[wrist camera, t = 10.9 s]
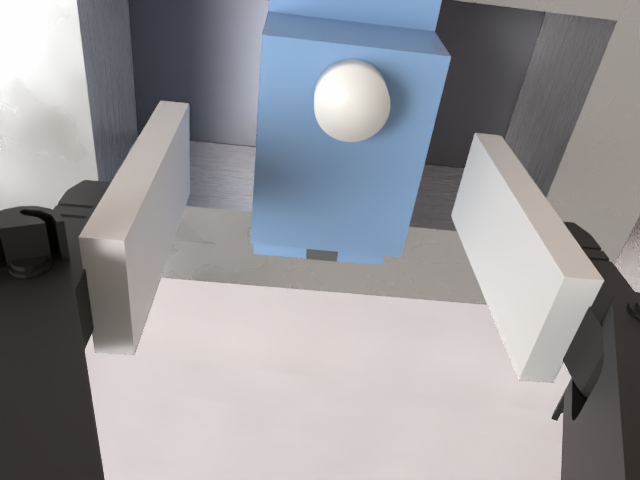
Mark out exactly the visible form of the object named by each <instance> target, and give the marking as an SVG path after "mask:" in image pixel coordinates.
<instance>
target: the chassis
mask: <svg viewBox="0 0 640 480" xmlns="http://www.w3.org/2000/svg"><path fill="white" fill-rule="evenodd" d="M455 1H463V2H471V3H479V4H487V5H496V6H504V7H512V8H520V9H528V10H536V11H544V12H546V14H545V17H544V20H543V23H542V26H541V29H540V32H539V35H538V38H537V41H536V45H535V48H534V51H533V54H532V57H531V60H530V63H529V66H528V69H527V72H526V75H525V78H524V81H523V84H522V87H521V90H520V93H519V96H518V99H517V102H516V105H515V108H514V111H513V114H512V117H511V120H510V123H509V126H508V130H507V133H506V136H505V139H504V140H505V141H506V143H507V144H508V146H509V147H510V149H511V150H512V151H513V153H514V154H515V156H516V157H517V158H518V160H519V161H520V163H521V164H522V165H523V167H524V168H525V170H526V171H527V172H528V174H529V175H530V177H531V178H532V179H533V181H534V182H535V184H536V185H537V186H538V188H539V189H540V191H541V192H542V193H543V195H544V196H545V198H546V199H547V200H548V202H549V203H550V205H551V206H552V207H553V209H554V210H555V212H556V213H557V214H558V216H559V217H560V219H561V220H562V221H563V222H574V223H576V224H577V225H578V226H580V227H581V228H582V229H584V230H585V231H587V232H588V233H589V234H591V235H592V237H593V238H594V239H595V241H596V242H597V243H598V244H599V246H600V247H601V251H604V252H605V254H606V255H607V256H608V258H609V259H610V260H609V262H612V263H613V264H615V262H616V261H617V259H618V257H619V255H620V253H621V251H622V249H623V247H624V245H625V243H626V241H627V239H628V238H629V236H630V234H631V232H632V230H633V228H634V226H635V224H636V222H637V220H638V218H639V216H640V0H455ZM138 137H139V135H138V128H137V115H136V101H135V87H134V73H133V59H132V45H131V31H130V18H129V4H128V0H0V211H1V210H3V209H8V208H13V207H18V206H40V207H45V208H50V209H52V210H53V209H54V207H55V206H56V205H58V202H59V200H60V199H61V198H62V196H63V195H64V194H65V192H66V191H67V190H68V189H70V188H71V187H73V186H75V185H76V184H78V183H80V182H82V181H83V180H92V181H103V182H112V180H113V179H114V177H115V175H116V174H117V172H118V170H119V169H120V167H121V165H122V164H123V162H124V160H125V159H126V157H127V155H128V154H129V152H130V150H131V149H132V147H133V145H134V144H135V142H136V140H137V139H138ZM255 152H256V147H249V146H239V145H229V144H219V143H209V142H200V141H190V195H189V198H188V201H187V204H186V207H185V209H184V212H183V215H182V218H181V221H180V224H179V227H178V230H177V233H176V236H175V239H174V241H173V244H172V247H171V250H170V253H169V256H168V259H167V262H166V265H165V268H164V271H163V274H162V276H161V278H172V279H184V280H196V281H208V282H220V283H232V284H244V285H256V286H268V287H280V288H292V289H304V290H316V291H328V292H340V293H352V294H364V295H376V296H389V297H401V298H413V299H425V300H437V301H449V302H461V303H473V304H485V305H487V303H486V300H485V298H484V295H483V293H482V290H481V288H480V286H479V283H478V281H477V278H476V276H475V273H474V271H473V269H472V266H471V264H470V261H469V259H468V256H467V254H466V251H465V249H464V247H463V244H462V242H461V239H460V237H459V234H458V232H457V230H456V227H455V225H454V222H453V220H452V217H451V214H452V211H453V207H454V204H455V200H456V197H457V193H458V190H459V186H460V183H461V179H462V176H463V172H464V169H465V168H456V167H446V166H436V165H426V164H424V168H423V172H422V176H421V181H420V185H419V189H418V193H417V197H416V201H415V205H414V209H413V213H412V217H411V221H410V225H409V229H408V233H407V237H406V241H405V245H404V249H403V253H402V257H393V256H384V259H383V263H382V265H375V264H364V263H352V262H341V261H337V262H334V261H322V260H311V259H306V258H295V257H283V256H272V255H260V254H253V251H254V244H250V240H251V222H252V204H253V187H254V169H255Z"/></svg>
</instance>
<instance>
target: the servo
mask: <svg viewBox="0 0 640 480" xmlns="http://www.w3.org/2000/svg"><path fill="white" fill-rule="evenodd" d="M441 3H442V0H269V8H268V14H267V18H266V22H265V26H264V30H263V33H262V47H261V64H260V82H259V99H258V117H257V134H256V152H255V169H254V187H253V204H252V222H251V240H250V244H254V251H253V254H260V255H272V256H283V257H295V258H306V259H311V260H322V261H334V262H337V261H341V262H352V263H364V264H375V265H382V263H383V259H384V256H393V257H402V253H403V249H404V245H405V241H406V237H407V233H408V229H409V225H410V221H411V217H412V213H413V209H414V205H415V201H416V197H417V193H418V189H419V185H420V181H421V176H422V172H423V168H424V164H425V160H426V156H427V152H428V148H429V144H430V140H431V136H432V132H433V128H434V124H435V120H436V116H437V112H438V108H439V104H440V100H441V96H442V92H443V88H444V84H445V80H446V76H447V72H448V68H449V64H450V60H451V55H450V54H449V52H448V51H447V49H446V48H445V46H444V45H443V43H442V42H441V40H440V38H439V37H438V35H437V34H436V32H435V29H436V25H437V20H438V16H439V12H440V7H441Z"/></svg>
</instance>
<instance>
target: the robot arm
mask: <svg viewBox="0 0 640 480" xmlns="http://www.w3.org/2000/svg"><path fill="white" fill-rule="evenodd" d="M189 195H190V127H189V103H181V102H171V101H161V100H160V102H159V103H158V105H157V107H156V108H155V110H154V112H153V114H152V115H151V117H150V119H149V120H148V122H147V124H146V125H145V127H144V129H143V130H142V132H141V134H140V135H139V137H138V139H137V140H136V142H135V144H134V145H133V147H132V149H131V150H130V152H129V154H128V155H127V157H126V159H125V160H124V162H123V164H122V165H121V167H120V169H119V170H118V172H117V174H116V175H115V177H114V179H113V180H112V182H103V181H92V180H83V181H82V182H80V183H78V184H76V185H75V186H73V187H71V188H70V189H68V190H67V191H66V192H65V194H64V195H63V196H62V198H61V199H60V200H59V202H58V205H56V206H55V207H54V209H53V210H52V209H50V208H45V207H40V206H18V207H13V208H8V209H3V210H1V211H0V480H105V479H104V473H103V466H102V460H101V453H100V447H99V440H98V434H97V428H96V421H95V415H94V408H93V402H92V395H91V389H90V382H89V376H88V369H87V363H86V357H85V347H86V345H87V343H88V341H89V338H90V336H91V334H92V335H93V342H94V349H95V353H108V354H123V355H135V352H136V349H137V346H138V343H139V340H140V338H141V335H142V332H143V329H144V326H145V323H146V320H147V317H148V314H149V311H150V308H151V306H152V303H153V300H154V297H155V294H156V291H157V288H158V285H159V282H160V279H161V276H162V274H163V271H164V268H165V265H166V262H167V259H168V256H169V253H170V250H171V247H172V244H173V241H174V239H175V236H176V233H177V230H178V227H179V224H180V221H181V218H182V215H183V212H184V209H185V207H186V204H187V201H188V198H189ZM451 217H452V220H453V222H454V225H455V227H456V230H457V232H458V234H459V237H460V239H461V242H462V244H463V247H464V249H465V251H466V254H467V256H468V259H469V261H470V264H471V266H472V269H473V271H474V273H475V276H476V278H477V281H478V283H479V286H480V288H481V290H482V293H483V295H484V298H485V300H486V303H487V305H488V307H489V310H490V312H491V315H492V317H493V320H494V322H495V325H496V327H497V329H498V332H499V334H500V337H501V339H502V342H503V344H504V346H505V349H506V351H507V354H508V356H509V359H510V361H511V364H512V366H513V368H514V371H515V373H516V376H517V378H518V380H519V381H534V382H550V383H553V382H554V380H555V378H556V376H557V374H558V372H559V370H560V368H561V366H562V364H563V362H564V363H565V365H566V367H567V369H568V371H569V373H570V375H571V377H572V378H571V380H570V382H569V384H568V386H567V388H566V390H565V392H564V394H563V396H562V397H561V399H560V401H559V403H558V405H557V407H556V409H555V411H554V413H553V416H552V419H553V420H556V421H557V420H558V418H559V416H560V414H561V413H563V412H564V414H563V441H562V468H561V480H640V293H638V292H634V290H633V289H632V288H631V286H630V285H629V284H628V282H627V281H626V280H625V279H624V277H623V276H622V275H621V273H620V272H619V271H618V269H617V268H616V267H615V265H614V264H613V263H612V262H609V260H610V259H609V258H608V256H607V255H606V254H605V252H604V251H601V247H600V246H599V244H598V243H597V242H596V241H595V239H594V238H593V237H592V235H591V234H589V233H588V232H587V231H585V230H584V229H582V228H581V227H580V226H578V225H577V224H576V223H574V222H563V221H562V220H561V219H560V217H559V216H558V214H557V213H556V212H555V210H554V209H553V207H552V206H551V205H550V203H549V202H548V200H547V199H546V198H545V196H544V195H543V193H542V192H541V191H540V189H539V188H538V186H537V185H536V184H535V182H534V181H533V179H532V178H531V177H530V175H529V174H528V172H527V171H526V170H525V168H524V167H523V165H522V164H521V163H520V161H519V160H518V158H517V157H516V156H515V154H514V153H513V151H512V150H511V149H510V147H509V146H508V144H507V143H506V141H505V140H504V139H503V137H502V136H501V135H492V134H482V133H475V134H474V137H473V141H472V144H471V148H470V151H469V155H468V158H467V162H466V165H465V169H464V172H463V176H462V179H461V183H460V186H459V190H458V193H457V197H456V200H455V204H454V207H453V211H452V214H451Z"/></svg>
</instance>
